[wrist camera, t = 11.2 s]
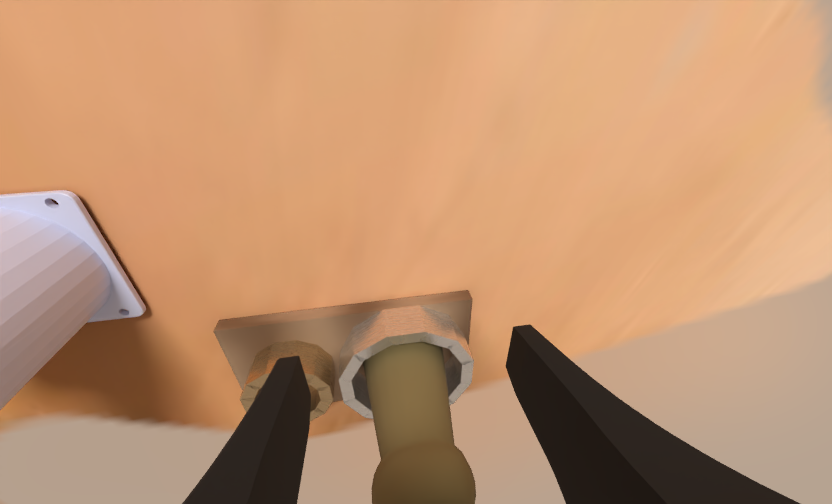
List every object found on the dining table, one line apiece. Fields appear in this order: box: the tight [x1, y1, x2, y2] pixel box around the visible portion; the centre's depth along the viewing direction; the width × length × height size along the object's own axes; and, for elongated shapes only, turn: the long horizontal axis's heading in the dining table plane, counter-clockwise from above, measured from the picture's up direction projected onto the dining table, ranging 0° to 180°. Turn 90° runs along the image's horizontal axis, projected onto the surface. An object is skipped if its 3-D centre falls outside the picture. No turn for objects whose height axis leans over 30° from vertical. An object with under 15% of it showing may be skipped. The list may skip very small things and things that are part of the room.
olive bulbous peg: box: [363, 341, 476, 504], centre depth 20 cm, size 6×6×11 cm
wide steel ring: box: [339, 305, 474, 419], centre depth 24 cm, size 9×9×2 cm
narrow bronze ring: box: [240, 340, 335, 421], centre depth 23 cm, size 6×6×2 cm
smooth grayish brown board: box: [214, 290, 472, 402], centre depth 25 cm, size 17×9×1 cm, turn 92°
